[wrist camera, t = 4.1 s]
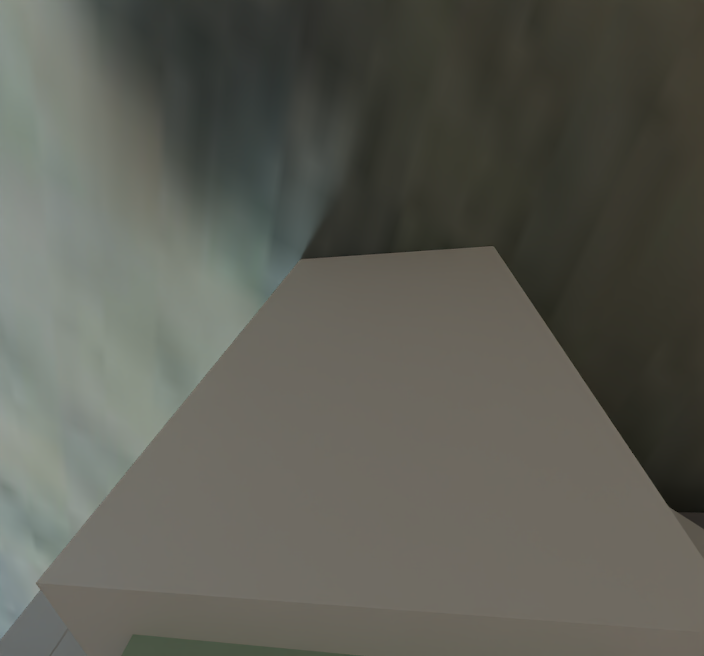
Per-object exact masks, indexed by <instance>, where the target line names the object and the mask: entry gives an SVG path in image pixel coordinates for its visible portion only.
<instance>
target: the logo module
mask: <svg viewBox="0 0 704 656" xmlns="http://www.w3.org/2000/svg"><path fill="white" fill-rule="evenodd" d="M36 584H37V585H38V587H39V588H40V590H41V591H42V592H43V594H44V595H45V597H46V598H47V600H48V601H49V602H50V604H51V605H52V607H53V608H54V609H55V611H56V612H57V614H58V615H59V616H60V618H61V619H62V621H63V622H64V623H65V625H66V626H67V628H68V629H69V630H70V632H71V633H72V635H73V636H74V638H75V639H76V640H77V642H78V643H79V645H80V646H81V647H82V649H83V650H84V652H85V653H86V654H87V656H704V559H703V557H702V556H701V554H700V553H699V551H698V550H697V548H696V547H695V545H694V544H693V542H692V541H691V539H690V538H689V536H688V535H687V533H686V532H685V530H684V529H683V527H682V526H681V524H680V523H679V521H678V520H677V519H676V517H675V516H674V514H673V513H672V511H671V510H670V508H669V507H668V505H667V504H666V502H665V501H664V499H663V498H662V496H661V495H660V493H659V492H658V490H657V489H656V487H655V486H654V484H653V483H652V481H651V480H650V478H649V477H648V475H647V474H646V472H645V471H644V469H643V468H642V466H641V465H640V463H639V462H638V460H637V459H636V457H635V456H634V454H633V453H632V451H631V450H630V449H629V447H628V446H627V444H626V443H625V441H624V440H623V438H622V437H621V435H620V434H619V432H618V431H617V429H616V428H615V426H614V425H613V423H612V422H611V420H610V419H609V417H608V416H607V414H606V413H605V411H604V410H603V408H602V407H601V405H600V404H599V402H598V401H597V399H596V398H595V396H594V395H593V393H592V392H591V390H590V389H589V387H588V386H587V384H586V383H585V382H584V380H583V379H582V377H581V376H580V374H579V373H578V371H577V370H576V368H575V367H574V365H573V364H572V362H571V361H570V359H569V358H568V356H567V355H566V353H565V352H564V350H563V349H562V347H561V346H560V344H559V343H558V341H557V340H556V338H555V337H554V335H553V334H552V332H551V331H550V329H549V328H548V326H547V325H546V323H545V322H544V320H543V319H542V317H541V316H540V314H539V313H538V312H537V310H536V309H535V307H534V306H533V304H532V303H531V301H530V300H529V298H528V297H527V295H526V294H525V292H524V291H523V289H522V288H521V286H520V285H519V283H518V282H517V280H516V279H515V277H514V276H513V274H512V273H511V271H510V270H509V268H508V267H507V265H506V264H505V262H504V261H503V259H502V258H501V256H500V255H499V253H498V252H497V250H496V249H495V247H494V246H486V247H472V248H457V249H442V250H428V251H413V252H399V253H384V254H370V255H355V256H340V257H326V258H311V259H300V260H299V262H298V263H297V264H296V265H295V267H294V268H293V269H292V270H291V271H290V273H289V274H288V275H287V276H286V278H285V279H284V280H283V281H282V282H281V284H280V285H279V286H278V287H277V289H276V290H275V291H274V292H273V293H272V295H271V296H270V297H269V298H268V300H267V301H266V302H265V303H264V305H263V306H262V307H261V308H260V309H259V311H258V312H257V313H256V314H255V316H254V317H253V318H252V319H251V320H250V322H249V323H248V324H247V325H246V327H245V328H244V329H243V330H242V331H241V333H240V334H239V335H238V336H237V338H236V339H235V340H234V341H233V342H232V344H231V345H230V346H229V347H228V349H227V350H226V351H225V352H224V353H223V355H222V356H221V357H220V358H219V360H218V361H217V362H216V363H215V364H214V366H213V367H212V368H211V369H210V371H209V372H208V373H207V374H206V375H205V377H204V378H203V379H202V380H201V382H200V383H199V384H198V385H197V386H196V388H195V389H194V390H193V391H192V393H191V394H190V395H189V396H188V397H187V399H186V400H185V401H184V402H183V404H182V405H181V406H180V407H179V409H178V410H177V411H176V412H175V413H174V415H173V416H172V417H171V418H170V420H169V421H168V422H167V423H166V424H165V426H164V427H163V428H162V429H161V431H160V432H159V433H158V434H157V435H156V437H155V438H154V439H153V440H152V442H151V443H150V444H149V445H148V446H147V448H146V449H145V450H144V451H143V453H142V454H141V455H140V456H139V457H138V459H137V460H136V461H135V462H134V464H133V465H132V466H131V467H130V468H129V470H128V471H127V472H126V473H125V475H124V476H123V477H122V478H121V479H120V481H119V482H118V483H117V484H116V486H115V487H114V488H113V489H112V490H111V492H110V493H109V494H108V495H107V497H106V498H105V499H104V500H103V501H102V503H101V504H100V505H99V506H98V508H97V509H96V510H95V511H94V513H93V514H92V515H91V516H90V517H89V519H88V520H87V521H86V522H85V524H84V525H83V526H82V527H81V528H80V530H79V531H78V532H77V533H76V535H75V536H74V537H73V538H72V539H71V541H70V542H69V543H68V544H67V546H66V547H65V548H64V549H63V550H62V552H61V553H60V554H59V555H58V557H57V558H56V559H55V560H54V561H53V563H52V564H51V565H50V566H49V568H48V569H47V570H46V571H45V572H44V574H43V575H42V576H41V577H40V579H39V580H38V581H37V582H36Z"/></svg>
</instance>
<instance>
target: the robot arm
mask: <svg viewBox="0 0 704 656" xmlns="http://www.w3.org/2000/svg"><path fill="white" fill-rule="evenodd" d="M669 508H670V507H669ZM670 510H671V511H672V513H673V514H674V516H675V517H676V519H677V520H678V521H679V523H680V524H681V526H682V527H683V529H684V530H685V532H686V533H687V535H688V536H689V538H690V539H691V541H692V542H693V544H694V545H695V547H696V548H697V550H698V551H699V553H700V554H701V556H702V557H703V559H704V529H703V528H701V527H700V526H698V525H696V524H695V523H693V522H692V521H690V520H689V519H687V518H685V517H684V516H682V515H681V514H679V513H678V512H676V511H675V510H673V509H671V508H670ZM0 656H87V654H86V653H85V652H84V650H83V649H82V647H81V646H80V645H79V643H78V642H77V640H76V639H75V638H74V636H73V635H72V633H71V632H70V630H69V629H68V628H67V626H66V625H65V623H64V622H63V621H62V619H61V618H60V616H59V615H58V614H57V612H56V611H55V609H54V608H53V607H52V605H51V604H50V602H49V601H48V600H47V598H46V597H45V595H44V594H43V592H42V591H41V590H40V591H39V592H38V594H37V595H36V596H35V597H34V599H33V600H32V601H31V602H30V604H29V605H28V606H27V607H26V609H25V610H24V611H23V612H22V614H21V615H20V616H19V617H18V619H17V620H16V621H15V622H14V624H13V625H12V626H11V627H10V629H9V630H8V631H7V632H6V634H5V635H4V636H3V637H2V639H1V640H0Z"/></svg>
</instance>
